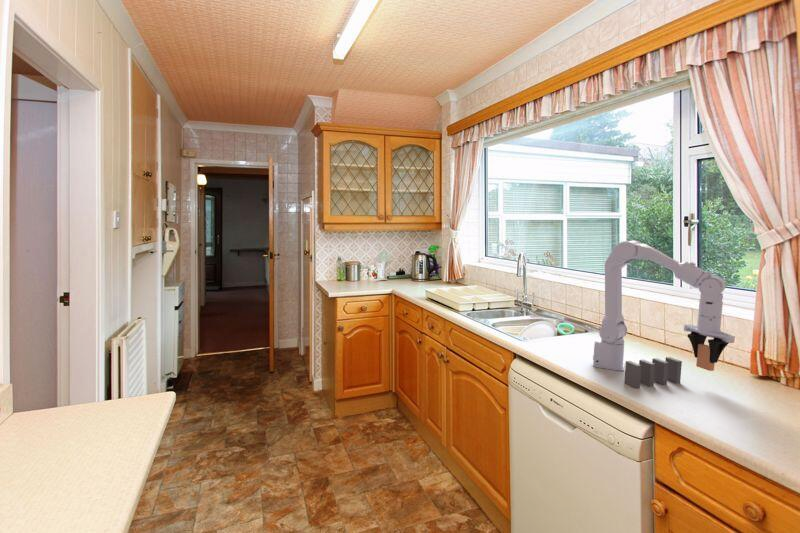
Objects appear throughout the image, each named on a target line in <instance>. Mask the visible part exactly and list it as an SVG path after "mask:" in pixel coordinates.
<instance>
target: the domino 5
mask: <svg viewBox="0 0 800 533" xmlns="http://www.w3.org/2000/svg"><path fill="white" fill-rule="evenodd" d="M715 364H716V363H711V362H710V347H709V344H708V345H707V344H705V343H704V344H698V352H697V358H696V367H698V368H700V369H703V370H706V371H709V372H713V371H715Z"/></svg>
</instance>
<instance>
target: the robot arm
mask: <svg viewBox="0 0 800 533" xmlns="http://www.w3.org/2000/svg"><path fill="white" fill-rule="evenodd" d="M635 260H647V261H648V260H649V261H651V262H654V263H655V264H657V265H659V266H661V267H663V268H666V269H667V270H670V271H672V272H673V274H674V278H676V279H678V280H680V281H682V282H684V283H685V284H687V285H689V286H691V287H693V288H695V289H698V290H699V292H700V295H699V297H700V299H699V300H698V301H699V303H698V313H697V323H696V324H697V325H693V324H684V326H683V331H684V332H690V333H688V334H687V338H688V340H689V342H690V343H691V346H692V350H693V354H694V358H696V359H697V352H698V344H705V342H706V340H707V338H709V339H708V340H707V342H708V346H709V347H710V362H711V363H715V364H716V363H718V361H719V359H720V357H721V354H722V353H723V351H724V349H725V348H726V347H727V346H728V344H733V343H735V340H736V339H735V337H736V336H735V335H731V334H729V333H726V332H723V331H722V329H721V325H722V315H723V305H724V304H723V303H724V302H723V300H724V299H723V298H724V294H723V292H724V291H725V289H726V282H725V280H724V279H723V278H722V277H721V276H719V275H717V274H712V271H710V270H708V271H706V270H704V269H702V268H700V267H699V266H697V264H696V263H695V262H693V261H691V262H689V261H683V262H679V261H677V260H675V259H673V258H671V257H670V256H669V255H667V254H665V253H663V252H661V251H660V250H658V249H656V248H655V247H653V246H650V245H648V244H646V243H642V242H641V241H639V240H634V239H633V240H629V241H628V240H625V241H621V242H619V243H617V244H616V245H615V246H613V247H612V250H611V252H610V254H609V255H608V257H607V259H606V260H605V262H604V316H603V318H602V321H601V326H600V328H599V331H598V335H599V336H600V339H595V340H594V346H593V355H592V361H593V362H592V367H594V368H600V369H606V370H612V371H621V372H625V364H626V363H624V355H625V354H624V352H625V340H624V337H626V335H627V333H628V328H627V327H628V326H626V324H625V317H624V315H623V311H622V309H623V308H622V306H623V304H622V302H623V301H622V300H623V299H622V298H623V296H622V294H623V293H622V292H623V290H622V288H623V286H622V285H623V284H622V277H623V276H622V269H623V268H624V267H625V266H627V264H629V263H630V262H632V261H635ZM710 338H711V339H710Z"/></svg>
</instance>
